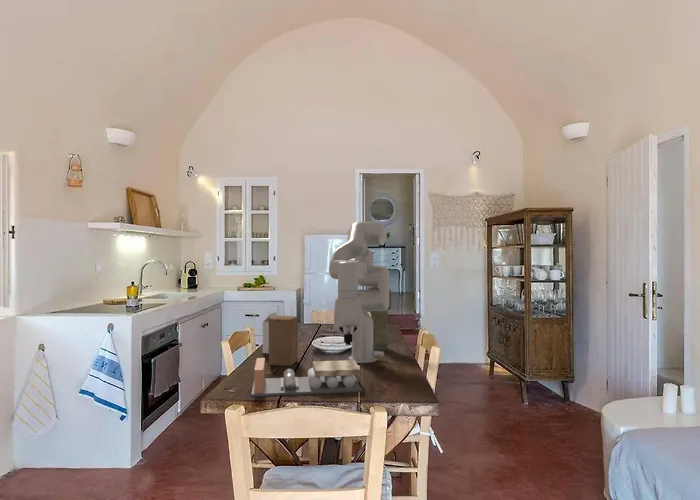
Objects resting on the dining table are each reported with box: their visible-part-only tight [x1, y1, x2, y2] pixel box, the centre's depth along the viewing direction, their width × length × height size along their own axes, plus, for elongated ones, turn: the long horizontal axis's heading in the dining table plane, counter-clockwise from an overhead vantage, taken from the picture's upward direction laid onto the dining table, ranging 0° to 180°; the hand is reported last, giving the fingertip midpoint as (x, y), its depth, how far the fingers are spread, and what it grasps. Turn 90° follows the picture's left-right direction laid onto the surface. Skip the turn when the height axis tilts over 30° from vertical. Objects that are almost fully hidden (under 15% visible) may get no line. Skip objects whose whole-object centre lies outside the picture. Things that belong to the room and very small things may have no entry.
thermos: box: [367, 287, 392, 352], centre depth 238 cm, size 9×12×35 cm
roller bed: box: [250, 357, 363, 397], centre depth 175 cm, size 38×19×9 cm, turn 98°
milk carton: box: [262, 312, 279, 355], centre depth 230 cm, size 7×7×19 cm
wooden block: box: [268, 315, 299, 367], centre depth 209 cm, size 10×10×20 cm
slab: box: [312, 359, 361, 377], centre depth 176 cm, size 16×14×2 cm
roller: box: [283, 368, 296, 390], centre depth 174 cm, size 4×14×4 cm, turn 8°
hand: (348, 344), depth 177 cm, fingers closed
